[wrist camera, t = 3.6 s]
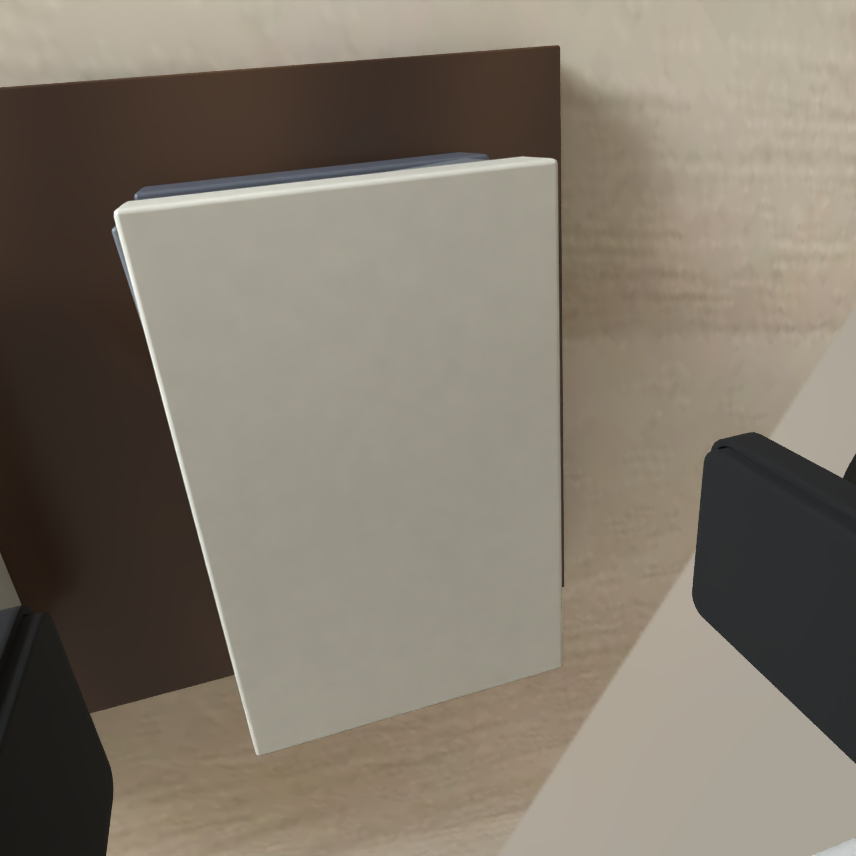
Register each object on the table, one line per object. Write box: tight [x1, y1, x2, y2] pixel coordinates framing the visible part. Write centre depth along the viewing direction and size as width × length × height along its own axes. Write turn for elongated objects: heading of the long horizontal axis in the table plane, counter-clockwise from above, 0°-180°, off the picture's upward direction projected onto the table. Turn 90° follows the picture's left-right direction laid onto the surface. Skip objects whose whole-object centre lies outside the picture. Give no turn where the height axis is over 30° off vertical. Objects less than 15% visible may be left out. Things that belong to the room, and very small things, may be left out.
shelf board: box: [0, 45, 564, 713], centre depth 17 cm, size 24×15×1 cm, turn 96°
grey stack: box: [112, 152, 489, 330], centre depth 16 cm, size 7×11×4 cm, turn 6°
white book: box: [114, 156, 563, 756], centre depth 14 cm, size 7×11×1 cm, turn 6°
